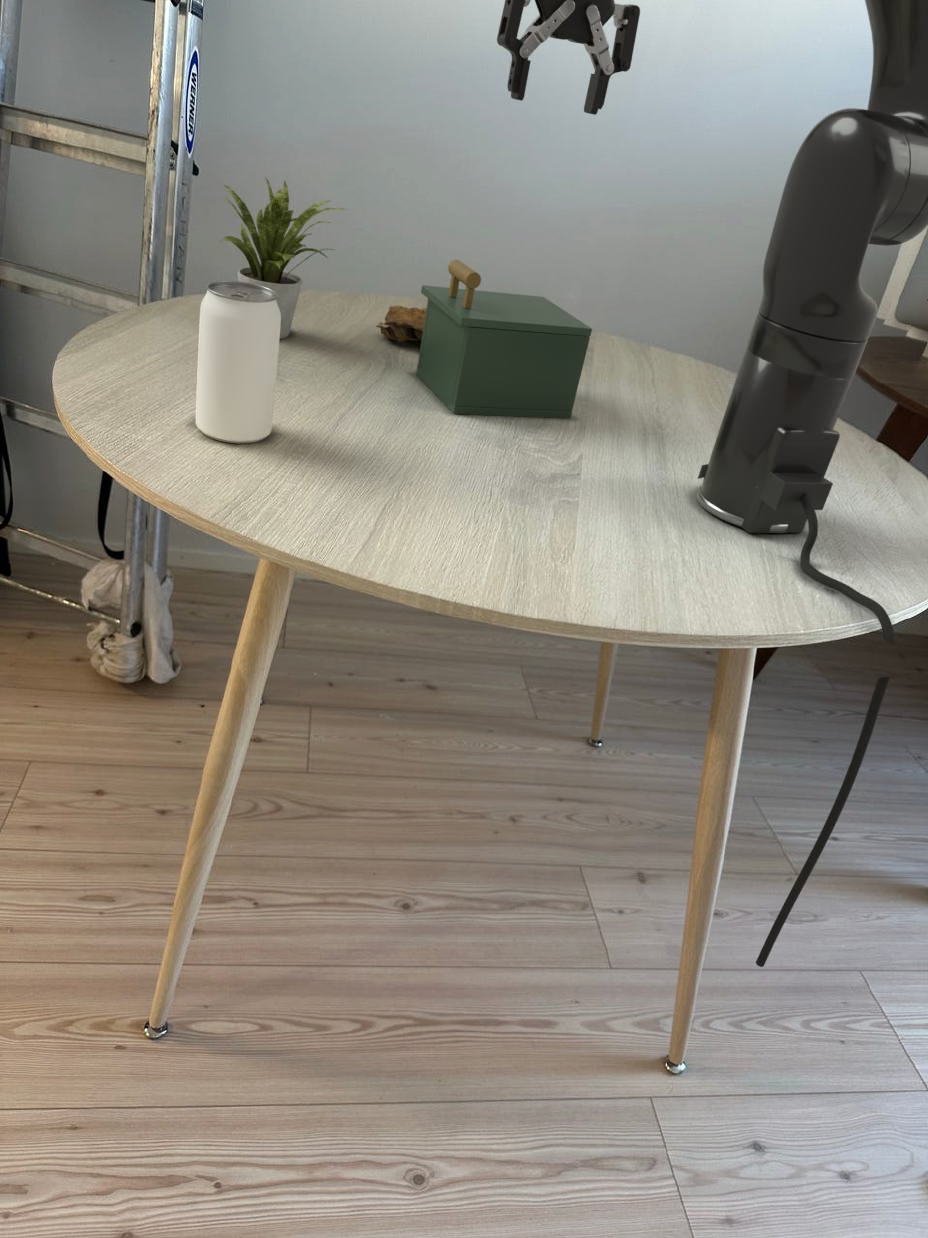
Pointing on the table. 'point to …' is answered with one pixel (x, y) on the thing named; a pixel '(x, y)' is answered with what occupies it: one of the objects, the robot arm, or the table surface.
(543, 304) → the bread bin lid
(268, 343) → the can
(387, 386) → the table surface
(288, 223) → the house plant
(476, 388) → the bin
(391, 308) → the brown tree bark piece
